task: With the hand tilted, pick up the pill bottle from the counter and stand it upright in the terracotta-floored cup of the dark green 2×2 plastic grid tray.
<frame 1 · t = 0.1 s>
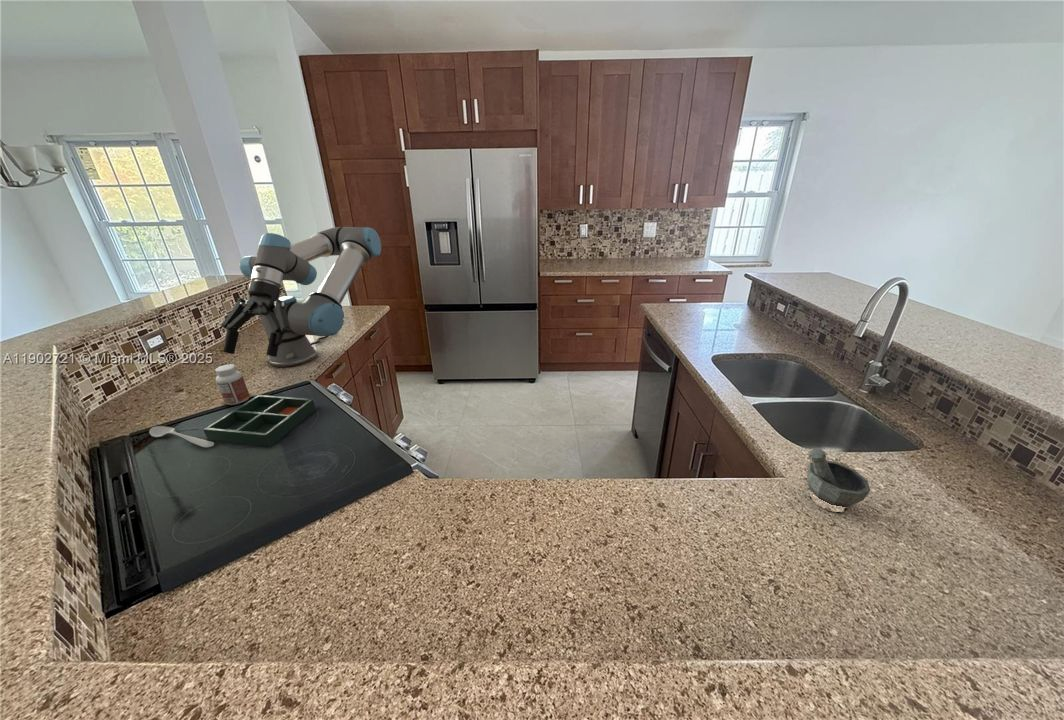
hand: (249, 354, 105), 15 cm above the counter, tool tilted 35°, fingers open, 13 cm apart
grid: (265, 424, 101), on the counter
spoon: (183, 439, 94), on the counter
mortar and pestle: (822, 501, 77), on the counter
pill bottle: (238, 401, 112), on the counter
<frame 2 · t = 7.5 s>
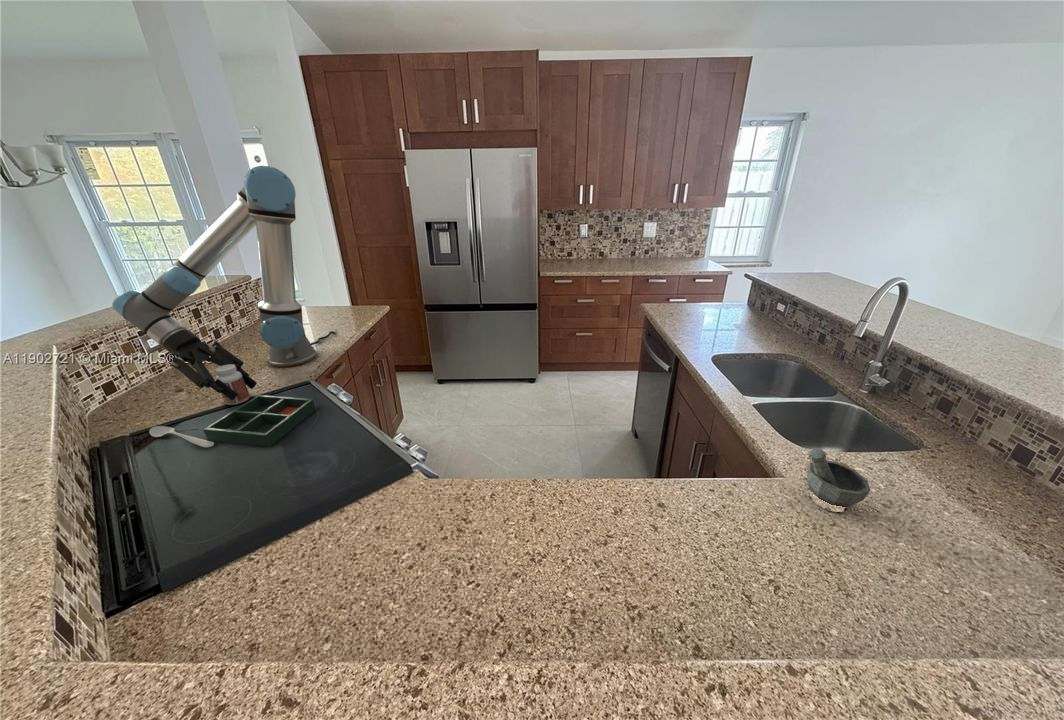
hand: (244, 391, 110), 3 cm above the counter, tool tilted 45°, fingers closed on pill bottle, 6 cm apart
pill bottle: (238, 401, 112), on the counter, touching gripper
everything else where it was.
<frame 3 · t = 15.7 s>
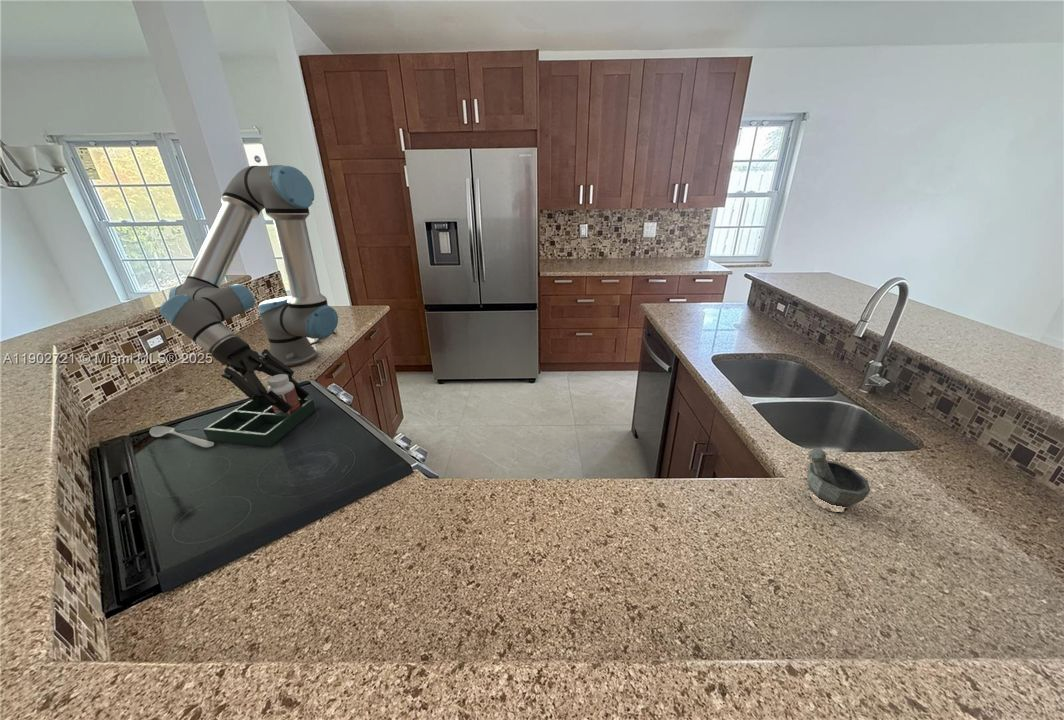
hand: (297, 403, 101), 5 cm above the counter, tool tilted 45°, fingers closed on pill bottle, 6 cm apart
pill bottle: (289, 413, 103), point 1 cm above the counter, touching gripper
everything else where it was.
when the fingers open (5 cm above the counter, at t = 19.1 s): pill bottle stays where it is, resting on grid.
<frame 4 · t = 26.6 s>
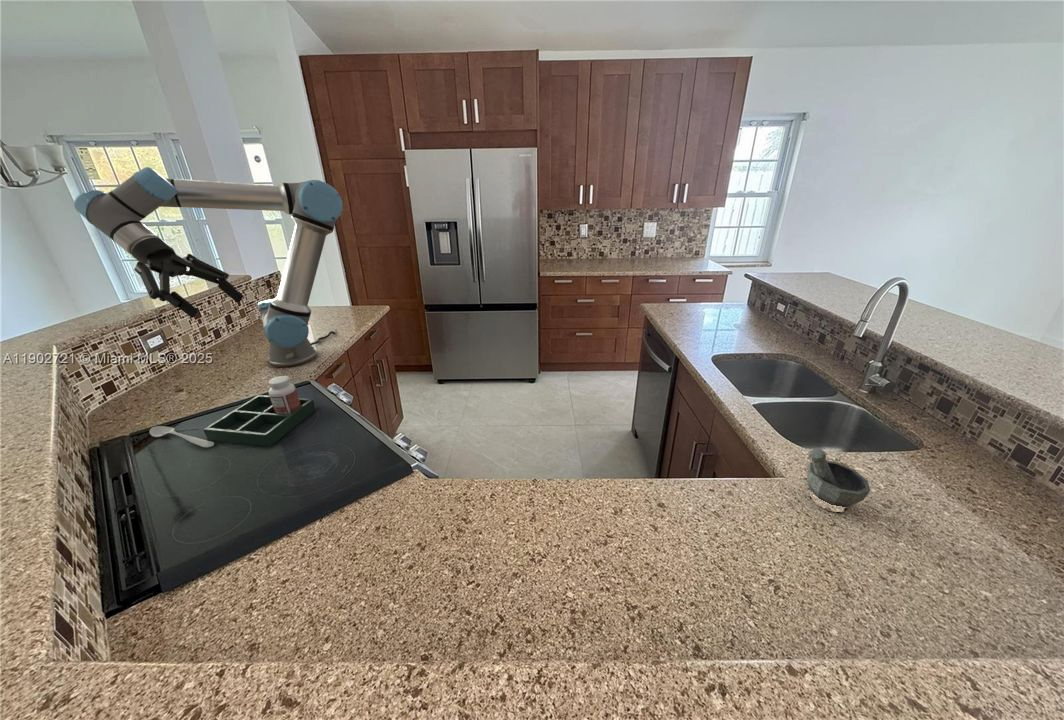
hand: (219, 306, 99), 30 cm above the counter, tool tilted 45°, fingers open, 13 cm apart
pill bottle: (290, 415, 104), point 1 cm above the counter, touching grid
everything else where it was.
at the end: pill bottle 0.2 cm from the target spot in the grid, point 0.5 cm above the grid's base; pill bottle tilted 0°; the gripper is holding nothing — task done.
